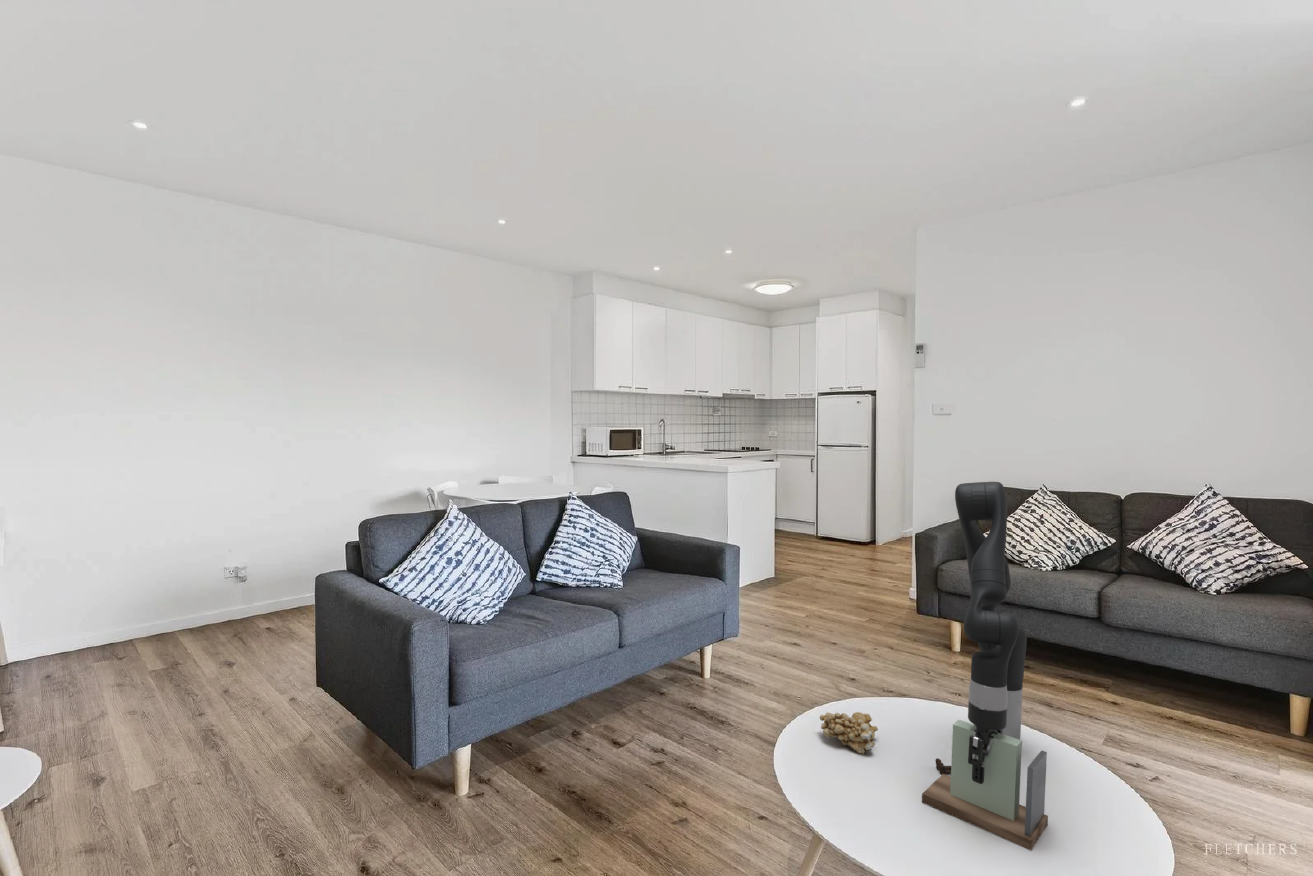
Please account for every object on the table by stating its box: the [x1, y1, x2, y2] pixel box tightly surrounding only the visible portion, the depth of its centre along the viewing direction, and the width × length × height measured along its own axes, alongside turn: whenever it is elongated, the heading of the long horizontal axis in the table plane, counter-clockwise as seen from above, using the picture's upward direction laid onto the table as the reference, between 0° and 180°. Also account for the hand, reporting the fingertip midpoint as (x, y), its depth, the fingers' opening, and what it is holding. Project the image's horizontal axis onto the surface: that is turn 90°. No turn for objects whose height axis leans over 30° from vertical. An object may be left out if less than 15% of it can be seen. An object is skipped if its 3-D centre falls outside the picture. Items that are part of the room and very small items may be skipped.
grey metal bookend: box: [1025, 750, 1048, 837], centre depth 134 cm, size 10×1×14 cm, turn 135°
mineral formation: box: [819, 711, 879, 755], centre depth 172 cm, size 8×13×15 cm
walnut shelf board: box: [921, 774, 1049, 851], centre depth 141 cm, size 12×22×2 cm, turn 45°
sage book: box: [950, 719, 1023, 821], centre depth 141 cm, size 4×13×16 cm, turn 45°
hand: (984, 774), depth 141 cm, fingers open, 8 cm apart
